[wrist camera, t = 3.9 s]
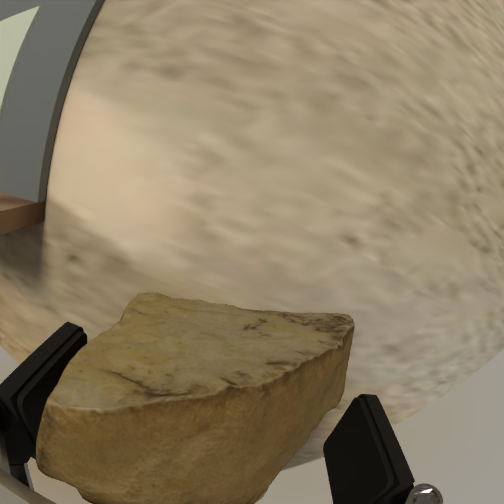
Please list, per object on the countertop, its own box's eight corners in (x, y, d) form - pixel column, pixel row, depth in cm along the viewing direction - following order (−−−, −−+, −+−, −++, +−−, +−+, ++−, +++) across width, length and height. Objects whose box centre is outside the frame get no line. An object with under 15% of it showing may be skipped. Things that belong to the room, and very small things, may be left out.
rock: (426, 291, 9) (182, 142, 7) (412, 520, 4) (13, 481, 2) (280, 354, 17) (133, 289, 15) (250, 479, 12) (77, 426, 10)
